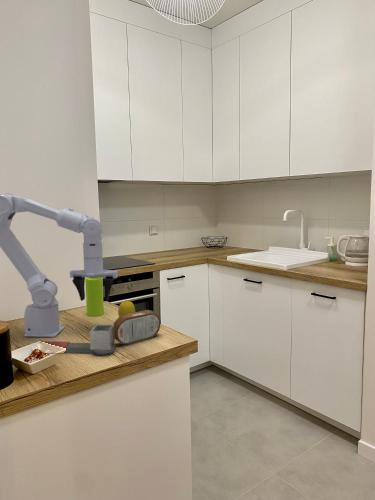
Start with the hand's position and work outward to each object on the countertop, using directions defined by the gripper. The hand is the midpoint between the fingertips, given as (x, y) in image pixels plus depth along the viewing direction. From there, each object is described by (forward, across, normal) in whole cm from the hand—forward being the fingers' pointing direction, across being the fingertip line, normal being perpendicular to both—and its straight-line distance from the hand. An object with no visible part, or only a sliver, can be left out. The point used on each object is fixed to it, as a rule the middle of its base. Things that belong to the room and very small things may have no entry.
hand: (94, 299), depth 115 cm
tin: (+10, +15, -9) cm, 20 cm away
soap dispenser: (+10, -4, +14) cm, 17 cm away
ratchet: (+10, 0, -17) cm, 19 cm away
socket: (+8, +7, -17) cm, 20 cm away
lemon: (+10, +9, +5) cm, 14 cm away
